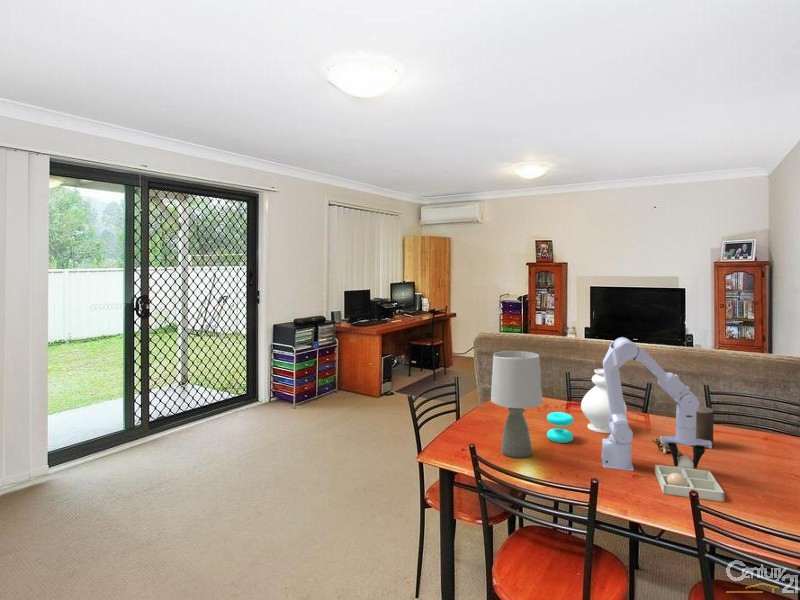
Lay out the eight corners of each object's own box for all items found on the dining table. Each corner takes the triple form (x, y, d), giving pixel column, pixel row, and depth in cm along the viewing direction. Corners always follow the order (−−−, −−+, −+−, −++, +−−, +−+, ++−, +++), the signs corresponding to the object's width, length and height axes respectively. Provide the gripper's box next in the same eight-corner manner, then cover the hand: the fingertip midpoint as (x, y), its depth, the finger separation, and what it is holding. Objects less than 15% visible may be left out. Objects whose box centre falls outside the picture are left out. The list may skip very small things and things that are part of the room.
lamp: (548, 449, 175) (548, 352, 172) (532, 466, 159) (532, 361, 157) (502, 439, 185) (501, 349, 183) (483, 455, 170) (482, 356, 168)
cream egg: (678, 473, 152) (678, 458, 152) (674, 466, 157) (675, 452, 157) (695, 475, 151) (695, 460, 150) (691, 468, 155) (692, 454, 155)
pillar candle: (718, 449, 172) (718, 409, 171) (689, 447, 174) (689, 408, 173) (706, 440, 181) (707, 402, 180) (679, 438, 183) (679, 401, 182)
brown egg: (668, 492, 139) (668, 475, 138) (665, 484, 143) (665, 469, 143) (687, 494, 137) (687, 478, 137) (683, 487, 142) (684, 471, 141)
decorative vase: (634, 435, 187) (635, 374, 186) (590, 435, 188) (590, 375, 186) (615, 421, 205) (615, 365, 204) (574, 421, 206) (575, 366, 204)
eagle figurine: (648, 449, 170) (672, 452, 162) (652, 430, 173) (676, 433, 165) (661, 457, 173) (685, 461, 165) (664, 438, 175) (688, 442, 167)
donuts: (555, 409, 191) (578, 415, 183) (555, 433, 192) (578, 439, 184) (542, 414, 185) (564, 420, 177) (542, 439, 185) (564, 446, 178)
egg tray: (663, 494, 138) (663, 485, 138) (654, 473, 152) (655, 464, 152) (724, 503, 132) (724, 492, 132) (709, 480, 147) (709, 470, 147)
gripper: (708, 424, 154) (707, 464, 155) (659, 420, 159) (658, 458, 160) (714, 431, 147) (713, 472, 148) (662, 427, 153) (662, 467, 153)
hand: (685, 466), depth 154 cm, fingers closed on cream egg, 5 cm apart
